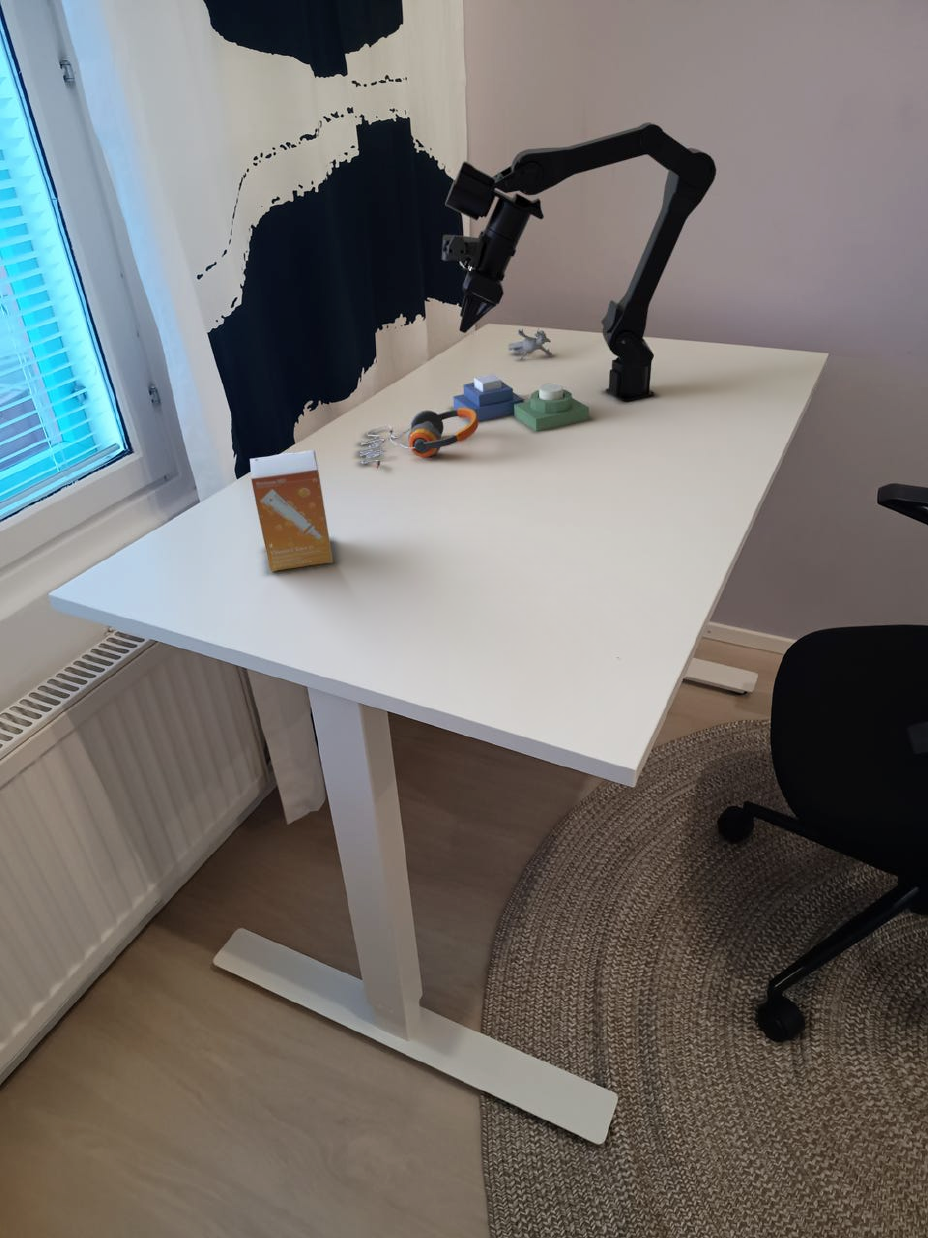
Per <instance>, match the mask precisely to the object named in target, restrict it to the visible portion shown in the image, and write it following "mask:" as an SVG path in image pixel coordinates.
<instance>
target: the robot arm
mask: <svg viewBox="0 0 928 1238" xmlns="http://www.w3.org/2000/svg"><path fill="white" fill-rule="evenodd" d="M642 156H648V157H650V158H651V159H653V160H654V161H655V162H657V163H658V164H659V165H661V166H662V167H663V168H665V169H666V170H667V171H668V173H667V176H666V180H665V184H664V189H663V198H662V205H661V208H660V212H659V213H658V217H657V219H656V221H655V223H654V226H653V228H652V231H651V233H650V234H649V238H648V240H647V242H646V245H645V247H644V250H643V252H642V254H641V257H640V259H639V261H638V264H637V266H636V269H635V271H634V274H633V276H632V278H631V280H630V282H629V285H628V288H627V290H626V292H625V293H624V295H623V296H622V297H621V299H620V300H619V301H618V302H616V301H615V300H613V299H611V300H610V301H609V304H608V308H607V312H606V314H605V316H604V318H602V320H601V324H602V326H603V327H602V337H603V339H604V341H605V343H606V345H607V347H608V349H609V351H610V352H611V353H612V354H613V355H615V356H616V358H615V359H612V360H611V369H609V372H608V373H609V375H608V376H609V377H608V388H605V393H606V394H609V395H610V396H612V397H614V398H615V399H618V400H620V401H622V402H623V403H628V402H631V401H635V400H636V401H637V400H641V399H644V398H650V397H654V396H655V393H656V392H655V391H653V390H651V389H650V388H651V377H652V376H651V374H652V362H653V359H654V357H655V354H654V352H653V351H652V349H651V348H650V346H649V345H648V343H647V342H646V340H645V339H644V335H645V331H646V327H647V320H648V313H649V307H650V303H651V301H652V299H653V297H654V295H655V293H656V290H657V288H658V285H659V283H660V280H661V278H662V276H663V274H664V271H665V269H666V268H667V265H668V263H669V260H670V258H671V256H672V253H673V252H674V249H675V247H676V244H677V242H678V240H679V237H680V236H681V233H682V231H683V229H684V225H685V223H686V221H687V219H688V218H689V216H690V215H691V214H692V213H693V212H694V211H695V209H696V208H697V207H698V206H699V204H700V203H702V201H703V199H704V198H705V197H706V194H707V193H708V191H709V190H710V188H711V186H712V185H713V183H714V181H715V179H716V174H717V167H716V164H715V160H714V159H713V158H712V156H711V155H710V154H708V153H706V152H705V151H702V150H700V149H698V148H693V147H686V146H684V145H683V144H682V143H680V142H679V141H677V140H676V139H675V138H673V137H672V136H671V135H669V134H668V133H666V132H665V131H664V130H663V128H662V127H660V125H658V124H656V123H652V122H644V123H641V124H640V125H639V126H636V127H633V128H628V129H626V130H622V131H619V132H616V133H612V134H609V135H605V136H601V137H597V138H594V139H591V140H586V141H584V142H580V143H577V144H572V145H570V146H561V147H540V148H539V147H538V148H527V149H524V150H522V151H519V152H518V153H517V154H516V155H515V157H514V158H513V160H512V162H511V165H510V166H508V167H506V168H505V169H503V170H501V171H498V173H496V174H494V175H493V176H491V175H489V174H487V173H486V172H483V171H482V170H480V169H478V168H476V167H475V166H474V165H473V164H471V163H469V162H468V161H466V160H465V161H463V162H462V164H461V166H460V169H459V170H458V173H457V175H456V177H455V179H453V182H452V183H451V185H450V186H451V187H450V189H449V191H448V195H447V197H446V200H445V202H444V205H445V207H448V208H450V209H452V210H454V211H456V212H458V213H459V214H462V215H463V216H466V217H468V218H470V219H472V220H474V221H476V222H477V221H478V220H479V219H480V218H482V219H485V218H487V217H488V215H489V213H490V211H491V208H492V206H493V203H494V201H495V199H496V197H497V198H498V199H497V200H496V203H495V205H494V207H493V210H492V212H491V215H490V217H489V219H488V221H487V223H486V226H485V228H484V229H483V230H480V232H479V235H478V237H474V236H467V235H461V234H460V235H456V234H443V236H442V244H441V245H442V246H441V261H443V262H451V261H458V262H464V264H463V275H464V277H465V279H464V281H463V284H462V292H463V294H464V296H463V300H462V305H461V310H460V313H459V316H460V317H461V321H460V325H459V328H458V329H459V332H461V333H463V334H466V333H467V332H468V331H469V330H470V329H471V328H472V327H473V326H474V325H476V324H477V322H479V321H480V320H481V319H482V318H483V317H485V316H486V314H488V313H489V312H490V311H491V310H492V309H494V308H496V307H497V305H499V304H500V302H501V300H502V298H503V296H504V287H503V284H502V282H503V281H504V278H505V276H506V274H505V272H506V270H507V268H508V266H509V263H510V261H511V259H512V258H514V256H515V254H516V253H517V246H518V244H519V242H520V240H521V237H522V235H523V234H524V231H525V229H526V226H527V224H528V222H529V220H530V217H531V216H533V217H535V218H536V219H539V220H543V219H544V217H545V215H544V213H543V211H542V202H541V201H542V200H541V199H540V198H539V197H537V198H535V199H533V200H531V199H529V198H527V197H525V196H536V195H539V194H540V193H542V192H544V191H547V190H548V189H551V188H552V187H554V186H557V185H559V184H560V183H561V182H564V181H565V180H567V179H569V178H570V177H572V176H575V175H577V174H578V175H579V174H583V173H585V172H589V171H593V170H595V169H600V168H603V167H606V166H611V165H614V164H617V163H620V162H624V161H628V160H631V159H635V158H639V157H642ZM502 192H503V193H502ZM516 192H520V193H522V194H523V195H525V196H523V195H521V194H519V193H516ZM509 193H515V194H514V195H513V197H511V196H509V195H507V194H509Z"/></svg>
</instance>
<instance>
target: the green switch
mask: <svg viewBox="0 0 928 1238" xmlns="http://www.w3.org/2000/svg"><path fill="white" fill-rule="evenodd" d="M589 409H590V408H589V406H587V405H586V404H584V403H582V402H581V401H579V400H577V399H576V398H574V397H573V393H572V392H570V391H569V390H567V389H564V388H563V398H562V399H558V400H543V399H540V398H539V389H537V390H535V391H533V392H532V393H530V399H529V400H528V401H524V402H523V403H518V404H514V414H513V415H514V418H516V419H518V421H520V422H522V423H523V424H524V425H526V426H527V427H529V428H531V429H532V431H534V432H540V431H544V430H549V429H554V428H559V427H562V426H566V425H570V424H575V423H580V422H584V421H588V420H589V412H590V411H589Z"/></svg>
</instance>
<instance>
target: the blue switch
mask: <svg viewBox="0 0 928 1238" xmlns="http://www.w3.org/2000/svg"><path fill="white" fill-rule="evenodd" d="M462 387H463V394H458V395H454V396H452V399H453V410H458V409H459V408H468V409H472V410H473V411H475V413H476V415H477V417H478V423H479V422H483V421H488V420H492V419H493V420H494V419H497V418H503V417H505V416H510V415H514V404H518V403H523V402H525V399H524V397H522V396H520V395H518V394H517V393H516V392H514V388H513V387H511V386H510V385H508V384H507V383H505V382H504V381H502V380H501V387H502V388H501V389H496V390H491V391H486V392H481V391H479V390H478V389H477V388H475V387H474V382H470V383H465V384H463V385H462ZM466 419H467V420H468V421H469V422H470V421H471V419H469V418H466Z"/></svg>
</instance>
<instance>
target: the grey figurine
mask: <svg viewBox="0 0 928 1238" xmlns="http://www.w3.org/2000/svg"><path fill="white" fill-rule="evenodd" d="M517 333H518V335H519V336H520V337H522V338H524V339H523V341H518V342H513V343H508V350H509V351H512V352H513V354H514V355H517V354H519V353H523V355H522V356H521V357H520V361H522V360H523V359H524V358H525V356H526V355H531V354H533V353H534V352H536V351H538V350H541V351H542V352H543V353H545V354H546V355H547V356H548V357H552V355H553V353H552V352H551V351H550V348H548V349H546V348H545V346H543V345H545V344H546V343H551V341H552V340H551V339H549V337H547V334H546V333H545V331H544V330H540V327H538V328H537V329H536V331H535V333H533V335H534V336H535V337H532V336H528V335H526V334H525V333H524V328H521V329H518V330H517Z"/></svg>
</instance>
